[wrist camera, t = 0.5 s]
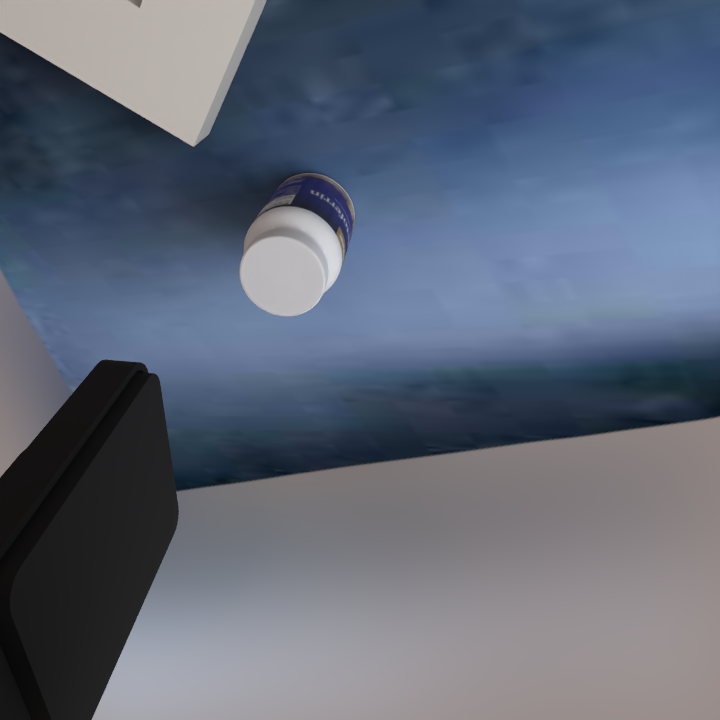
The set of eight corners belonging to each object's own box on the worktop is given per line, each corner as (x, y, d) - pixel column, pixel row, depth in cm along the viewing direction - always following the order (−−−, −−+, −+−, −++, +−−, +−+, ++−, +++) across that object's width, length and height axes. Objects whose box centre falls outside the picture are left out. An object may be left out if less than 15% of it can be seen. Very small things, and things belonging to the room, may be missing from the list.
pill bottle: (372, 228, 42) (355, 297, 34) (303, 267, 44) (271, 342, 36) (323, 152, 39) (292, 207, 31) (253, 198, 42) (206, 261, 33)
